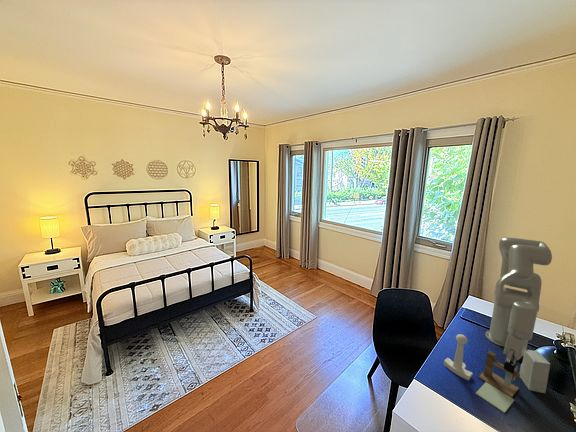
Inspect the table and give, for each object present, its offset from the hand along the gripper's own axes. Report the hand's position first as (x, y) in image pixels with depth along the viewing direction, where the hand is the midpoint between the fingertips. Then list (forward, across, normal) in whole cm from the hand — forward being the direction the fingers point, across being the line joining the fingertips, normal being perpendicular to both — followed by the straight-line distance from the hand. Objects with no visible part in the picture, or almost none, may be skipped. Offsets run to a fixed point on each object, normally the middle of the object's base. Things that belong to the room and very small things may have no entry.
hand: (512, 366), depth 104 cm
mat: (+13, +9, -2) cm, 16 cm away
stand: (+13, -1, -4) cm, 13 cm away
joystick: (+13, +6, -17) cm, 22 cm away
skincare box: (+13, -13, +4) cm, 18 cm away
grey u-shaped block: (+9, -1, 0) cm, 9 cm away
